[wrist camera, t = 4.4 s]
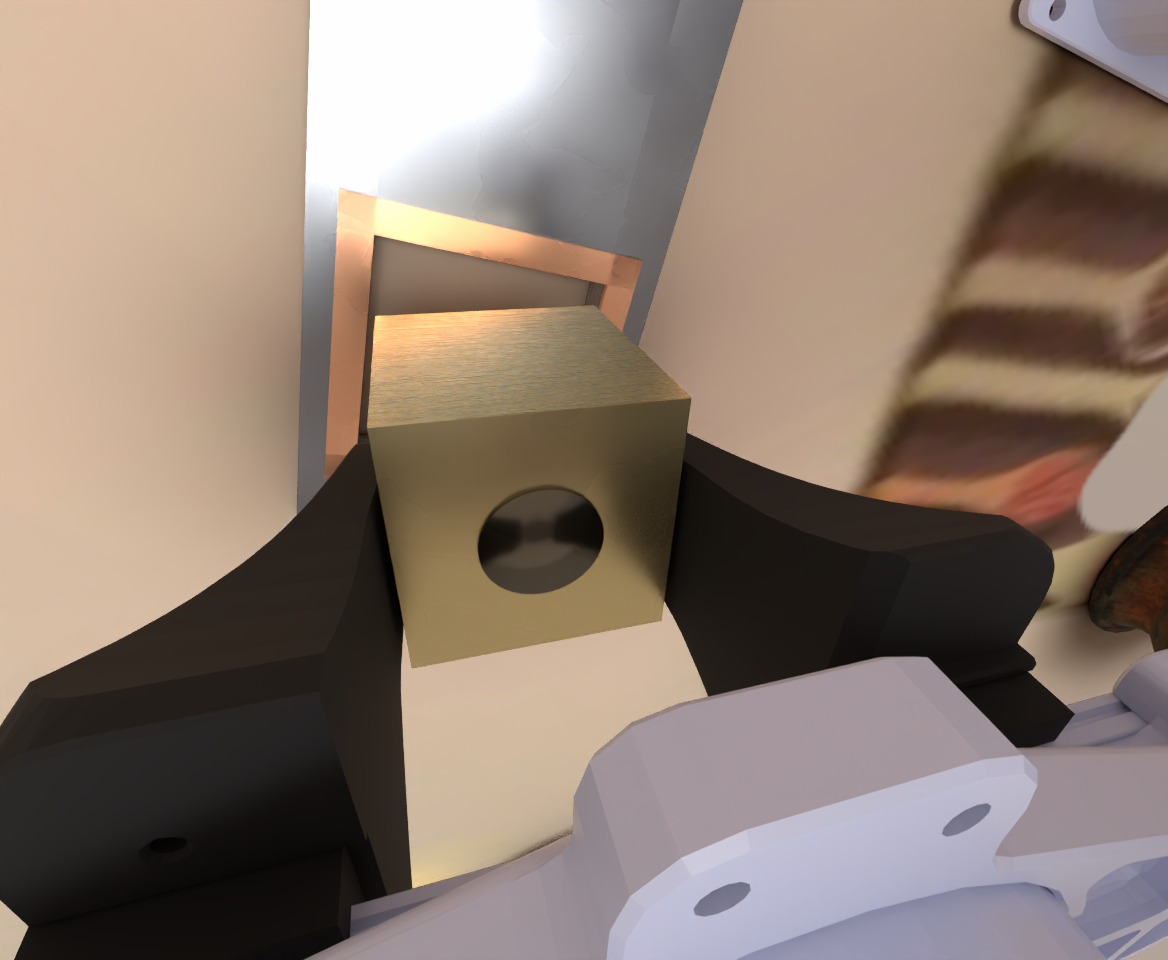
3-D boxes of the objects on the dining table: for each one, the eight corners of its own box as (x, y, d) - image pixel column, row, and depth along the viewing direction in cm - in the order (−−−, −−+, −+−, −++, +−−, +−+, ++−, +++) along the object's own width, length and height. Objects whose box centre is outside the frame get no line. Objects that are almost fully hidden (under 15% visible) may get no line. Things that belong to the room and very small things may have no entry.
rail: (938, -747, 10) (1011, -860, 9) (568, 526, 22) (578, 550, 21) (360, -1414, 7) (354, -1737, 5) (301, 512, 19) (295, 539, 17)
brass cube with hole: (594, 305, 13) (692, 400, 8) (587, 482, 15) (662, 623, 11) (375, 315, 12) (366, 430, 7) (405, 505, 14) (412, 671, 10)
